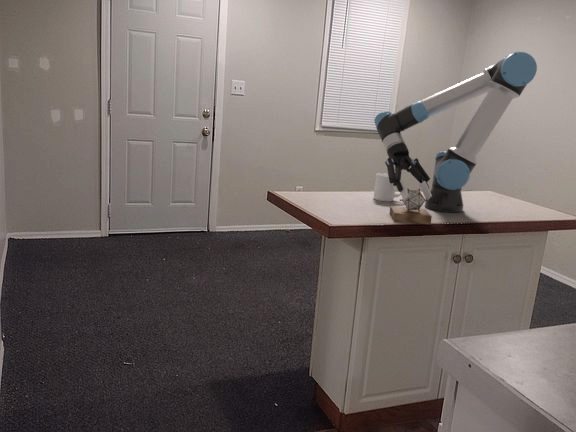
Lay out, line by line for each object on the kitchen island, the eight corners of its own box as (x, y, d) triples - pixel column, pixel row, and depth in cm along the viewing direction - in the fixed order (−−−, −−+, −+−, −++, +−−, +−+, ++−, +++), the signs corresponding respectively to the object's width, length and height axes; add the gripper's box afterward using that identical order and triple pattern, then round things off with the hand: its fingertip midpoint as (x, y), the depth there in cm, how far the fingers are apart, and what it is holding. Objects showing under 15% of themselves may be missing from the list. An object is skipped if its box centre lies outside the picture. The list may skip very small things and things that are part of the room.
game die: (413, 221, 191) (427, 207, 183) (393, 210, 192) (406, 195, 183) (420, 204, 196) (434, 190, 188) (400, 193, 197) (413, 178, 188)
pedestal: (424, 216, 198) (425, 209, 197) (430, 224, 186) (431, 216, 185) (389, 213, 198) (390, 206, 198) (393, 221, 187) (394, 212, 186)
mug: (402, 203, 221) (405, 178, 218) (373, 200, 222) (376, 175, 220) (401, 199, 229) (404, 175, 226) (373, 196, 230) (376, 172, 228)
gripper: (413, 154, 205) (435, 203, 195) (366, 153, 196) (387, 204, 185) (424, 142, 200) (448, 192, 190) (376, 140, 190) (398, 192, 180)
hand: (417, 198), depth 188 cm, fingers open, 9 cm apart
